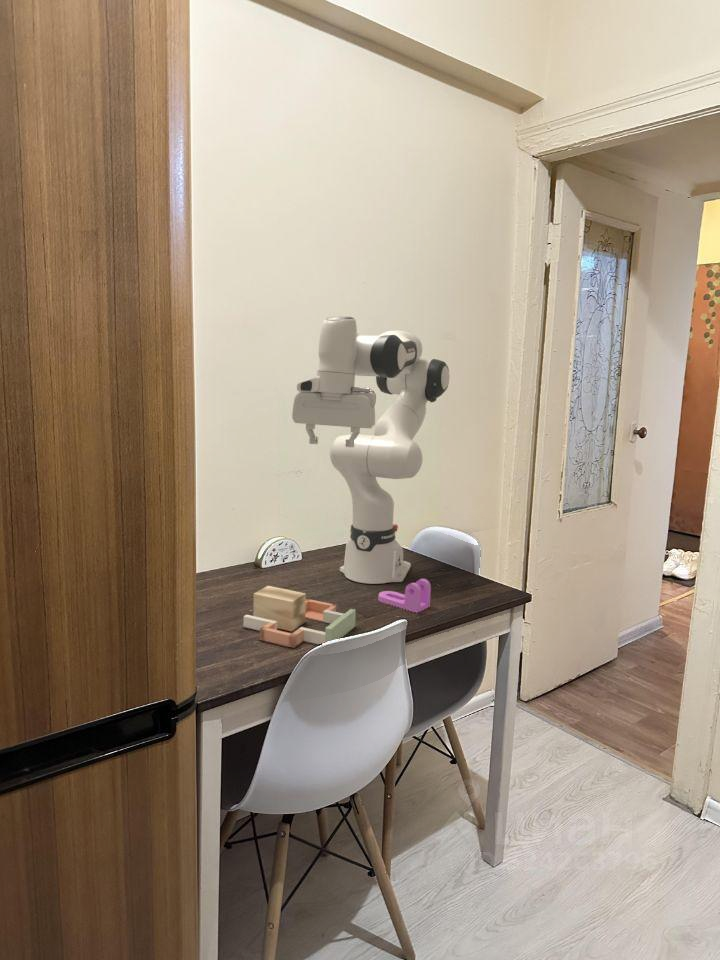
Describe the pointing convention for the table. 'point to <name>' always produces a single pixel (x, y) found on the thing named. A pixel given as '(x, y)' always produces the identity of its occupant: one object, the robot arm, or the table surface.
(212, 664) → the table surface
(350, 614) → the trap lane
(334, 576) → the table surface
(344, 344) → the robot arm
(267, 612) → the maple block
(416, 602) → the bracket
